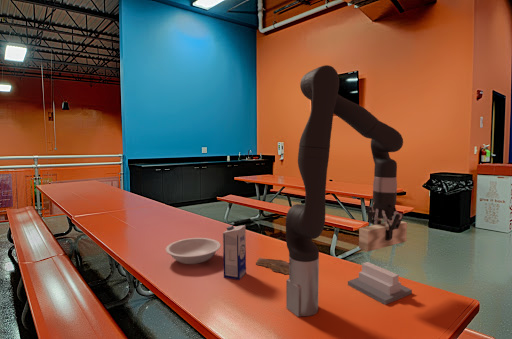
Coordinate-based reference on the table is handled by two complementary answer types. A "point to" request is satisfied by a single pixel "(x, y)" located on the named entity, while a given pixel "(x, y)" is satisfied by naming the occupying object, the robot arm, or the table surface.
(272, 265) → the wooden fragment
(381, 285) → the ridge stand
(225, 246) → the milk carton
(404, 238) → the ash bar
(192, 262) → the soup bowl
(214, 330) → the table surface
